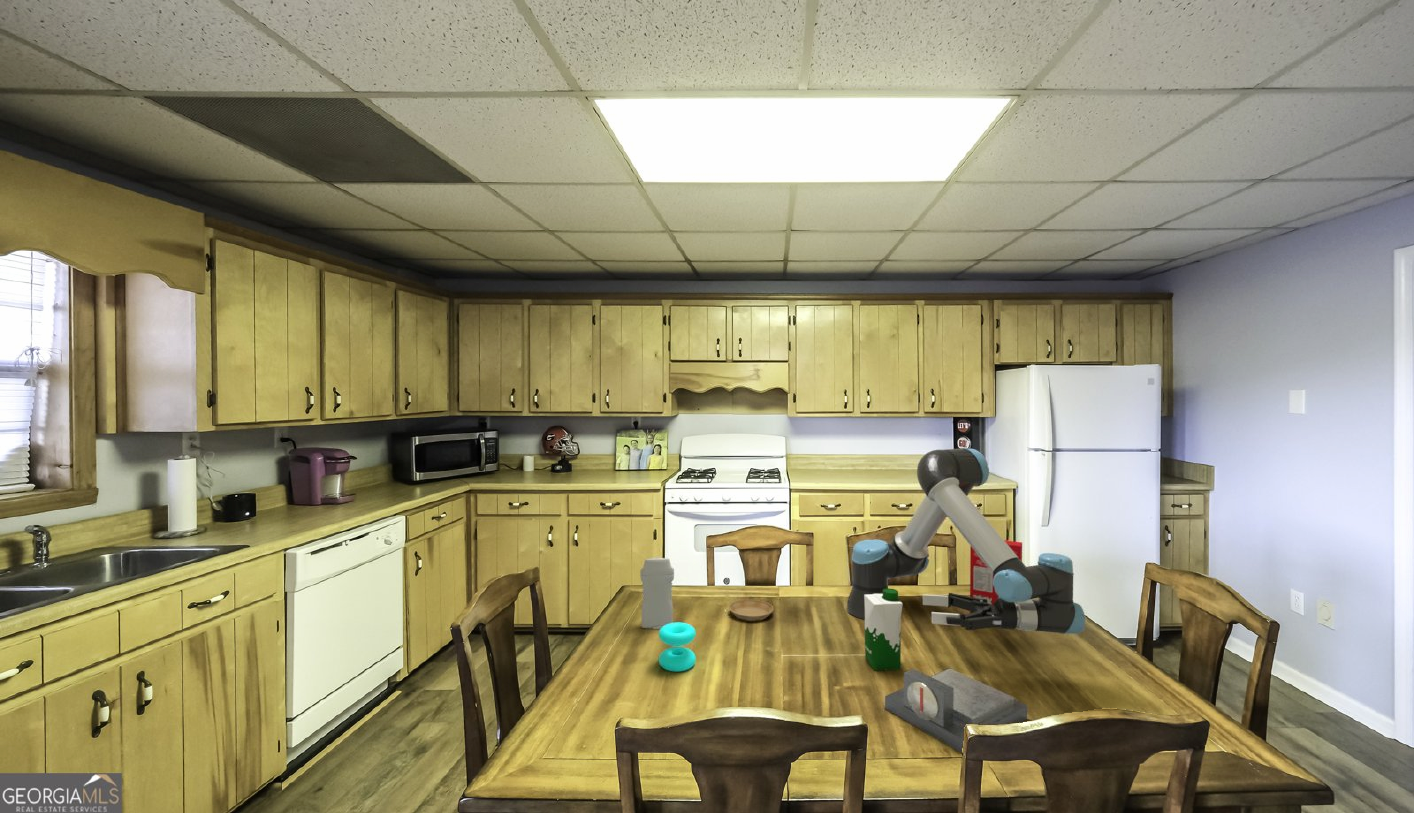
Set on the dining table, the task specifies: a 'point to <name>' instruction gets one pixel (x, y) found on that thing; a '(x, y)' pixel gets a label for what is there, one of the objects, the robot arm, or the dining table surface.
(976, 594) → the food packaging
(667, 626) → the donuts
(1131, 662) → the dining table surface
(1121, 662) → the dining table surface
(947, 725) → the scale
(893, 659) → the soya milk
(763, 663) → the dining table surface
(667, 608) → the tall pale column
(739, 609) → the plant saucer
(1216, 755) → the dining table surface
